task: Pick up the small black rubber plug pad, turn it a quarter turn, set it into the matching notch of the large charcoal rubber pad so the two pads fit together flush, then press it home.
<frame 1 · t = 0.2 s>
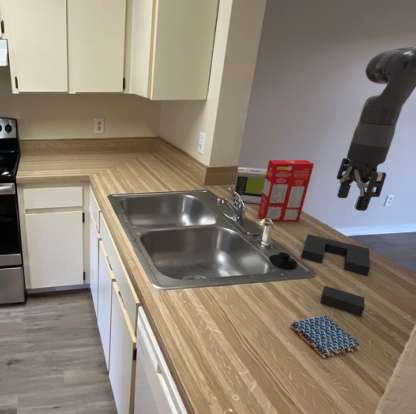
hand: (350, 203, 86), 27 cm above the worktop, tool pointing down, fingers open, 8 cm apart
food packaging: (277, 219, 140), on the worktop
tea box: (249, 200, 160), on the worktop
plug pad: (340, 304, 90), on the worktop
woven mat: (322, 338, 80), on the worktop
socket pad: (333, 256, 113), on the worktop
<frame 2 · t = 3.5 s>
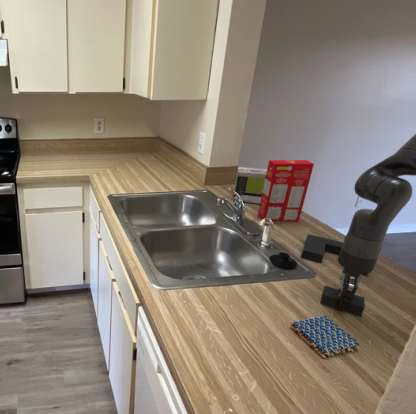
hand: (340, 303, 90), 0 cm above the worktop, tool pointing down, fingers closed on plug pad, 5 cm apart
plug pad: (340, 304, 90), on the worktop, touching gripper
everything else where it was.
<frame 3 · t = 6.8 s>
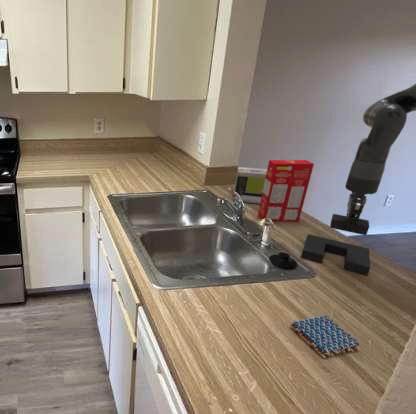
hand: (348, 227, 102), 14 cm above the worktop, tool pointing down, fingers closed on plug pad, 5 cm apart
plug pad: (347, 228, 102), point 14 cm above the worktop, touching gripper
everything else where it was.
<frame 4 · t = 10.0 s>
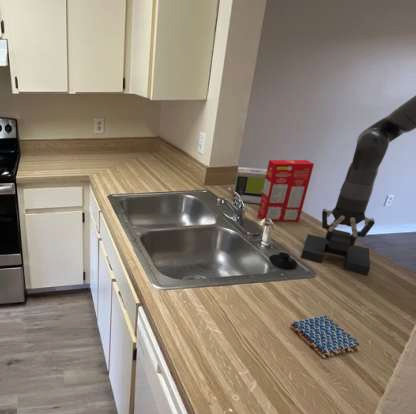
hand: (338, 242, 108), 7 cm above the worktop, tool pointing down, fingers closed on plug pad, 5 cm apart
plug pad: (338, 243, 109), point 6 cm above the worktop, touching gripper
everything else where it was.
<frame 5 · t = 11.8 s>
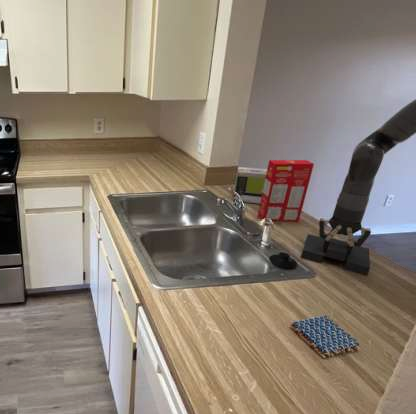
hand: (335, 251, 110), 3 cm above the worktop, tool pointing down, fingers closed on plug pad, 5 cm apart
plug pad: (335, 253, 110), point 3 cm above the worktop, touching gripper
everything else where it was.
when the fingers open (4 cm above the worktop, at t = 16.8 s): plug pad drops 2 cm, resting in socket pad.
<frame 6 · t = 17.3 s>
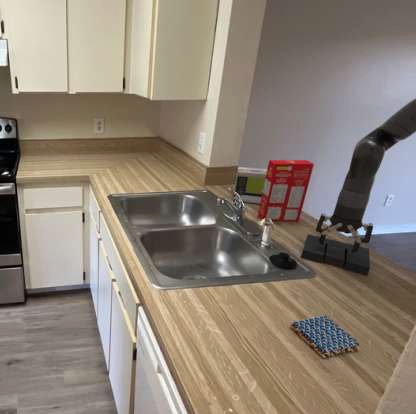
hand: (337, 247, 109), 5 cm above the worktop, tool pointing down, fingers open, 8 cm apart
plug pad: (333, 259, 111), resting in socket pad
everything else where it was.
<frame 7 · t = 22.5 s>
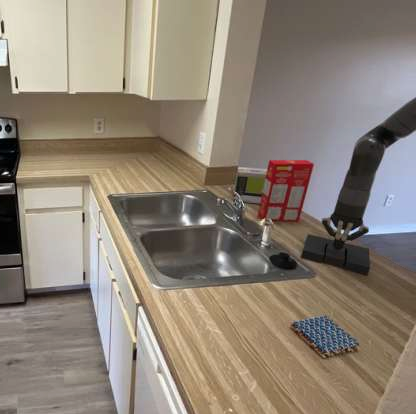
hand: (337, 248, 110), 4 cm above the worktop, tool pointing down, fingers closed
nothing on the worktop moved.
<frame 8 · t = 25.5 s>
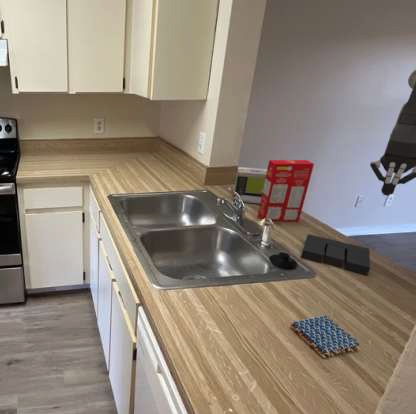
hand: (386, 194, 103), 23 cm above the worktop, tool pointing down, fingers closed
nothing on the worktop moved.
at the end: plug pad 0.2 cm from the target spot on the socket pad, point 0.0 cm above the socket pad's base; plug pad tilted 0°; the gripper is holding nothing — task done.
